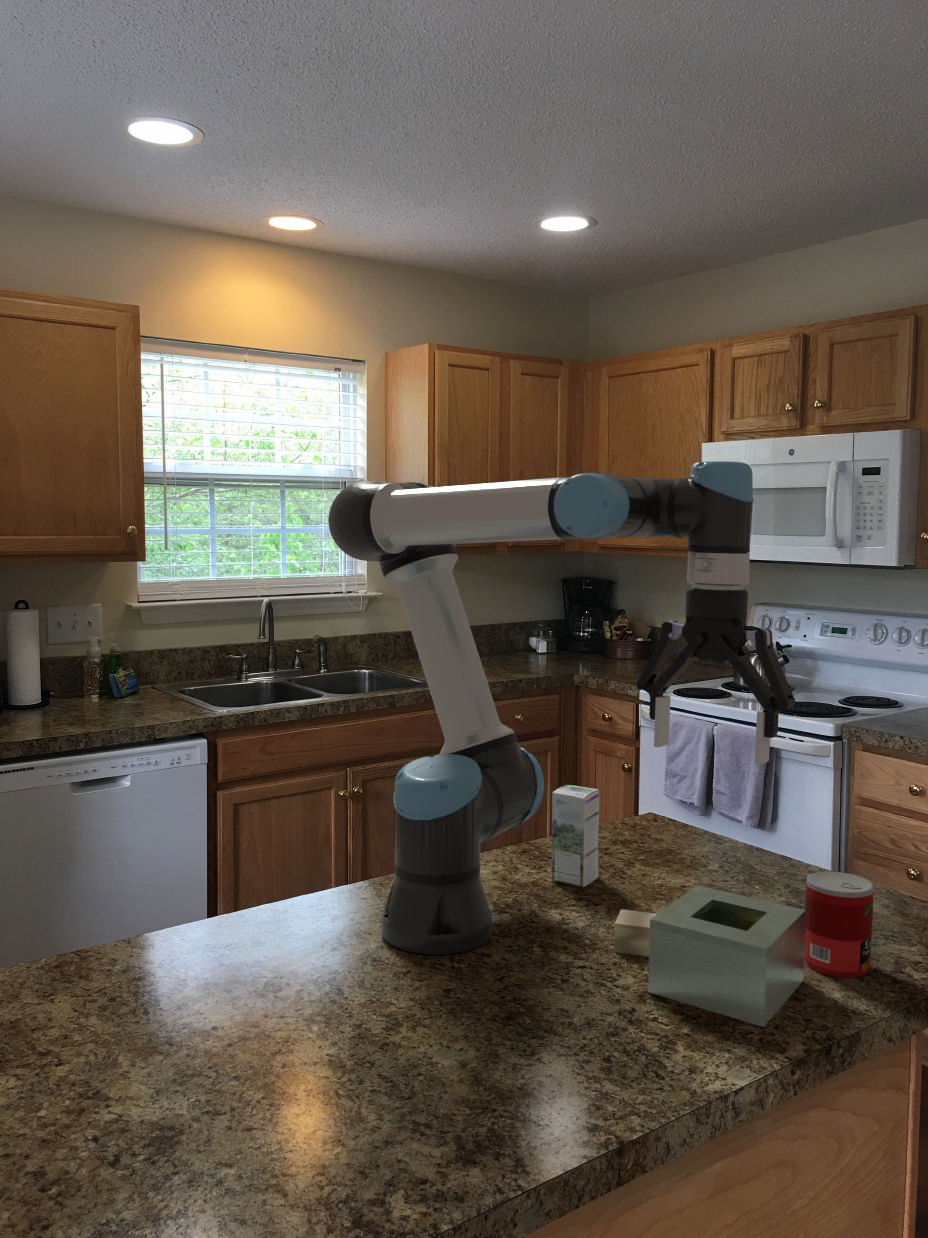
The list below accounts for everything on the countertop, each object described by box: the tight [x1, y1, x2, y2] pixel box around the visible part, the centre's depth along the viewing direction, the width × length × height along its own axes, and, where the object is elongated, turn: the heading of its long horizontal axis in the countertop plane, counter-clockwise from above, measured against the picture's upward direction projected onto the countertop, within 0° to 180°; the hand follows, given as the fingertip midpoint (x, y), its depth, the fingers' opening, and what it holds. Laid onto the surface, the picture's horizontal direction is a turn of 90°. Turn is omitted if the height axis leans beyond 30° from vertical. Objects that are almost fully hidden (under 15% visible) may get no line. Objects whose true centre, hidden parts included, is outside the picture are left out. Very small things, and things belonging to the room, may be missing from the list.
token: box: [613, 908, 658, 958], centre depth 132 cm, size 5×5×4 cm
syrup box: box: [551, 784, 600, 888], centre depth 157 cm, size 6×6×14 cm
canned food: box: [804, 871, 875, 979], centre depth 127 cm, size 8×8×11 cm
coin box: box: [647, 885, 806, 1028], centre depth 121 cm, size 14×14×9 cm
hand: (709, 754), depth 127 cm, fingers open, 13 cm apart
